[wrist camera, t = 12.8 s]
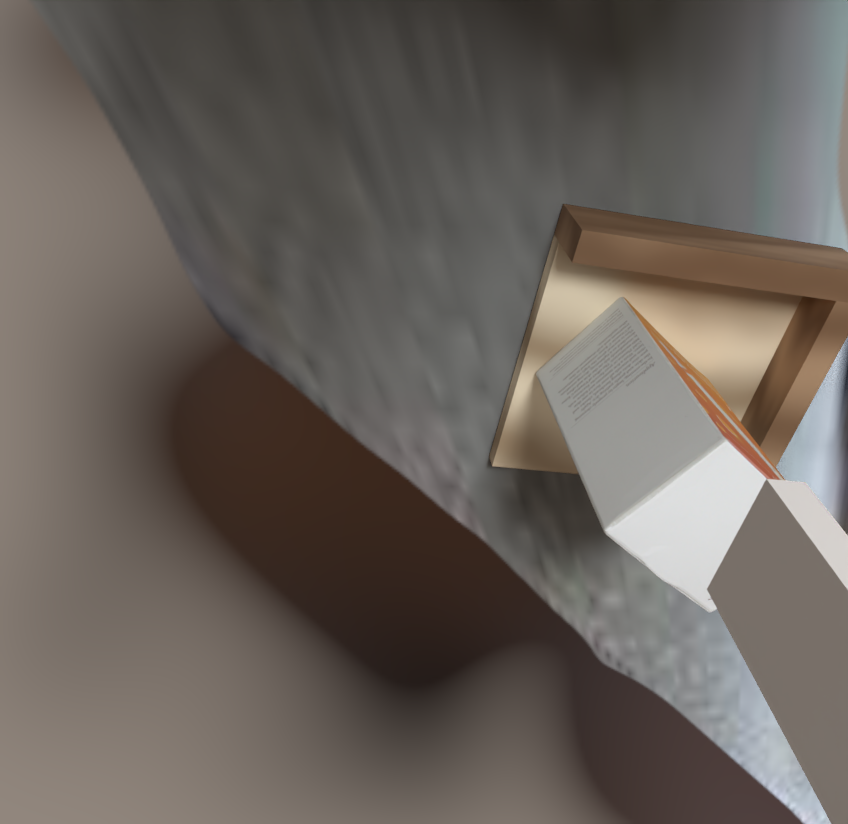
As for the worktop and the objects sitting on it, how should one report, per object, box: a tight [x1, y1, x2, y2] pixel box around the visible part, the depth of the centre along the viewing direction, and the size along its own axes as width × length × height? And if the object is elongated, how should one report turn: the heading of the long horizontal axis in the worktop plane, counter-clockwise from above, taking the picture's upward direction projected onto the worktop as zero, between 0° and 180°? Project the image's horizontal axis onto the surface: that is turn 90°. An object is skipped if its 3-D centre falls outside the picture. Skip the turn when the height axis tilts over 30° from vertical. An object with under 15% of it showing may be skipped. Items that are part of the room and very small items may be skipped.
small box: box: [536, 297, 786, 612], centre depth 38 cm, size 8×6×13 cm
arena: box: [489, 204, 848, 474], centre depth 43 cm, size 17×16×4 cm
